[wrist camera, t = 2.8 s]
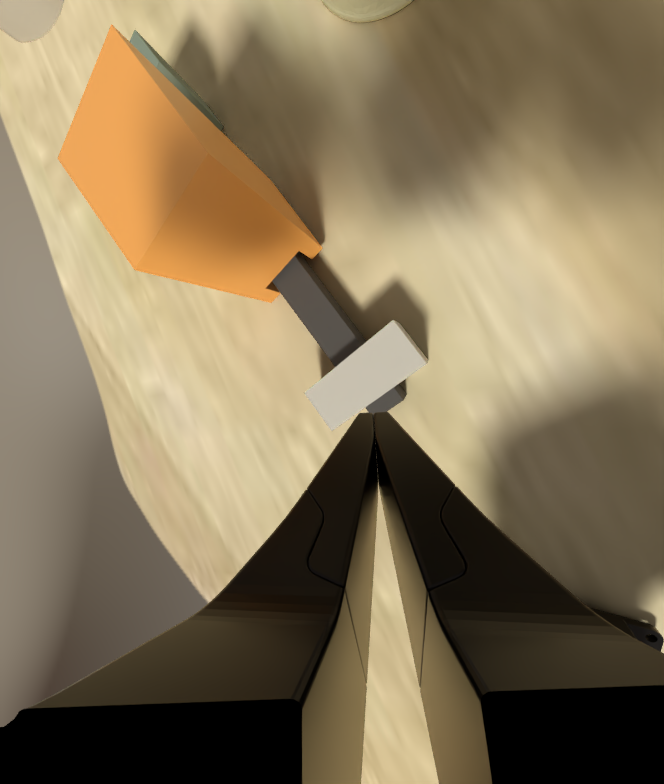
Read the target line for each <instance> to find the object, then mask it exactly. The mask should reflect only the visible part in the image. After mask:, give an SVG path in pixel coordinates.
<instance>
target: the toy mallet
mask: <svg viewBox="0 0 664 784" xmlns="http://www.w3.org/2000/svg"><path fill="white" fill-rule="evenodd" d="M130 43H131V44H132V45H133V46H134V47H135V48H136V49H137V50H138V51H139V52H140V53H141V54H142V55H143V56H144V57H145V58H147V59H148V60H149V61H150V62H151V63H152V64H153V65H154V66H155V67H156V68H157V69H158V70H159V71H160V72H161V73H162V74H163V75H164V76H165V77H166V78H167V79H168V80H169V81H170V82H171V83H172V84H173V85H174V86H175V87H176V88H177V89H178V90H179V91H180V92H181V93H182V94H183V95H184V96H185V97H186V98H187V99H188V100H189V101H190V102H191V103H192V104H193V105H195V106H196V107H197V108H198V109H199V110H200V111H201V112H202V113H203V114H204V115H205V116H206V117H207V118H208V119H209V120H210V121H211V122H212V123H213V124H214V125H215V126H216V127H217V128H218V129H219V130H220V131H221V130H222V129H223V125H222V124H221V123H220V121H219V120H218V119H217V118H216V116H215V115H214V114H213V112H212V111H211V110H210V108H209V107H208V106H207V104H206V103H205V102H204V101H203V100H202V99H201V98H200V97H199V96H198V95H197V93H196V92H195V91H194V90H193V89H192V88H191V87H190V86H189V85H188V84H187V83H186V82H185V81H184V80H183V79H182V78H181V77H180V76H179V75H178V74H177V73H176V72H175V71H174V70H173V69H172V68H171V66H170V65H169V64H168V63H167V62H166V61H165V60H164V59H163V58H162V57H161V56H160V55H159V54H158V53H157V52H156V51H155V50H154V49H153V48H152V47H151V46H150V45H149V44H148V43H147V42H146V41H145V40H144V38H143V37H142V36H141V35H140V34H139V33H138V32H137V31H136V30H134V33H133V35H132V37H131V40H130ZM272 282H273V283H274V284H275V286H276V287H277V289H278V290H279V291H280V293H281V294H282V295H283V297H284V298H285V299H286V301H287V302H288V303H289V305H290V306H291V307H292V309H293V310H294V312H295V313H296V314H297V316H298V317H299V318H300V320H301V321H302V322H303V324H304V325H305V326H306V328H307V329H308V330H309V332H310V333H311V335H312V336H313V337H314V339H315V340H316V341H317V343H318V344H319V345H320V347H321V348H322V349H323V351H324V352H325V354H326V355H327V356H328V358H329V359H330V360H331V362H332V363H333V364H334V366H335V368H334V369H333V370H331V371H330V372H329V373H328V374H327V375H325V376H324V377H323V378H322V379H320V380H319V381H318V382H317V383H316V384H314V385H313V386H312V387H311V388H310V389H308V390H307V391H306V392H305V395H306V396H307V398H308V399H309V400H310V402H311V403H312V405H313V406H314V407H315V409H316V410H317V411H318V413H319V414H320V416H321V417H322V418H323V420H324V421H325V423H326V424H327V425H328V427H329V428H330V429H331V431H333V430H334V429H335V428H337V427H338V426H340V425H341V424H343V423H344V422H345V421H347V420H348V419H350V418H351V417H352V416H354V415H355V414H357V413H358V412H359V411H361V410H362V409H364V408H366V409H367V410H368V412H369V413H373V417H374V413H375V412H387V411H388V410H390V409H391V408H393V407H394V406H395V405H397V404H398V403H400V402H401V401H403V400H404V398H405V396H406V395H407V394H406V393H405V392H404V390H403V389H402V388H401V386H400V385H399V383H400V382H402V381H403V380H405V379H406V378H407V377H409V376H410V375H412V374H413V373H415V372H416V371H417V370H419V369H420V368H422V367H423V366H424V365H426V364H427V362H428V359H427V358H426V357H425V355H424V354H423V353H422V351H421V350H420V349H419V348H418V346H417V345H416V344H415V342H414V341H413V340H412V339H411V337H410V336H409V335H408V333H407V332H406V331H405V329H404V328H403V327H402V326H401V324H400V323H398V322H396V321H394V320H392V321H391V322H390V323H389V324H387V325H386V326H385V327H384V328H383V329H381V330H380V331H379V332H378V333H376V334H375V335H374V336H373V337H372V338H370V339H369V340H368V341H366V340H365V339H364V337H363V336H362V335H361V333H360V332H359V331H358V329H357V328H356V327H355V326H354V324H353V323H352V322H351V320H350V319H349V318H348V316H347V315H346V314H345V312H344V311H343V310H342V308H341V307H340V306H339V304H338V303H337V302H336V300H335V299H334V298H333V296H332V295H331V294H330V292H329V291H328V290H327V288H326V287H325V286H324V285H323V283H322V282H321V281H320V279H319V278H318V277H317V275H316V274H315V273H314V271H313V270H312V269H311V267H310V266H309V265H308V263H307V262H306V261H305V259H304V258H303V257H302V255H301V254H300V253H299V251H298V253H297V254H296V255H295V256H294V257H293V258H292V259H291V260H290V261H289V263H288V264H287V265H286V266H285V267H284V268H283V269H282V270H281V271H280V273H279V274H278V275H277V276H276V277H275V278H274V279H273V280H272Z"/></svg>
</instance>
